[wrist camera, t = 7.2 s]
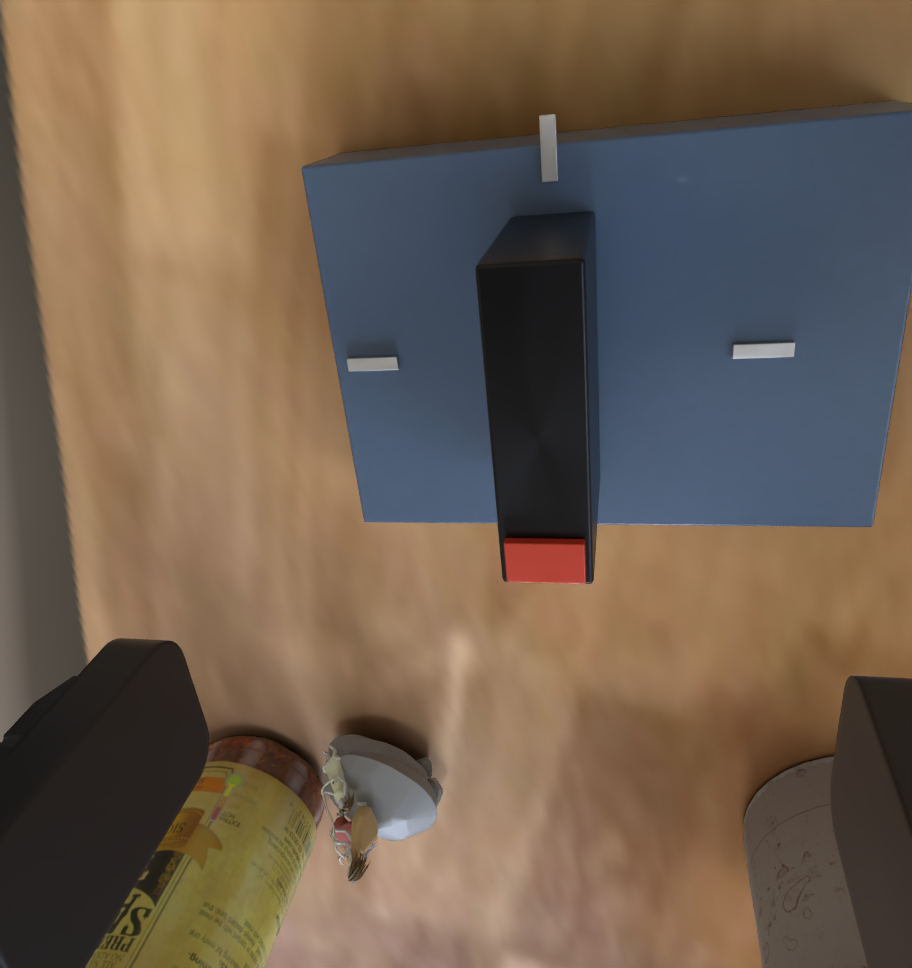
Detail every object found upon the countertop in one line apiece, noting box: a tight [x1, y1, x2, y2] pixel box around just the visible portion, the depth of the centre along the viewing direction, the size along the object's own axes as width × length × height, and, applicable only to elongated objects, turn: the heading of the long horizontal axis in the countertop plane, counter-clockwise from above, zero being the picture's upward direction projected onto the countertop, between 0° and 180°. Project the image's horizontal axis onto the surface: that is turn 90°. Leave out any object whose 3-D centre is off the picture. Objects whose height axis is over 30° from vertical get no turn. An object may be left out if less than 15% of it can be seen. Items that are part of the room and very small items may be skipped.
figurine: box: [321, 735, 443, 883], centre depth 30 cm, size 5×4×6 cm
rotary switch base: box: [302, 100, 912, 527], centre depth 21 cm, size 14×11×3 cm
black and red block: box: [475, 211, 600, 584], centre depth 18 cm, size 7×2×5 cm, turn 6°
